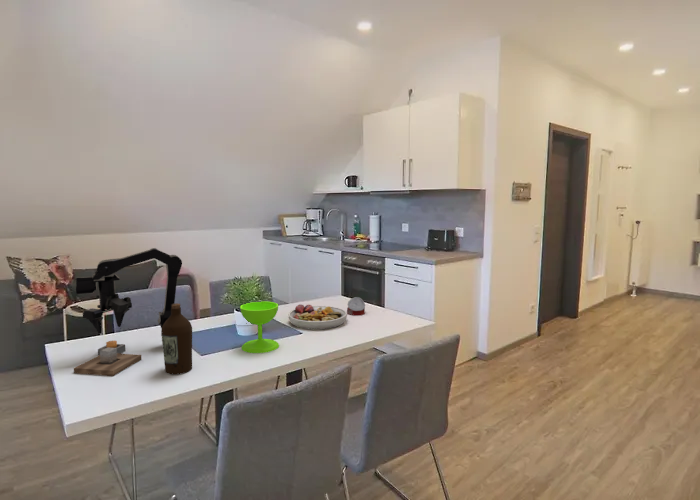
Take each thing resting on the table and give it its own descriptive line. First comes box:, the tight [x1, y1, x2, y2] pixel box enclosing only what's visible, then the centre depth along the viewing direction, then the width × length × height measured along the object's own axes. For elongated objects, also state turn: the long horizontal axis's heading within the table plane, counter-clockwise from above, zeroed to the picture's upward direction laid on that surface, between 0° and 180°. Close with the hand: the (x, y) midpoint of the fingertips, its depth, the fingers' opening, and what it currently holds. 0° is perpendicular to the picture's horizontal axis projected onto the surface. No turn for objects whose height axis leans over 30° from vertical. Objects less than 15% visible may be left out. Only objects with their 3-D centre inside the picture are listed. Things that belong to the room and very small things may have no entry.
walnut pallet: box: [73, 353, 142, 377], centre depth 164 cm, size 16×16×2 cm
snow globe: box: [346, 296, 366, 317], centre depth 239 cm, size 11×10×10 cm
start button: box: [105, 340, 118, 348], centre depth 176 cm, size 4×4×3 cm
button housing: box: [97, 343, 127, 356], centre depth 177 cm, size 7×7×3 cm
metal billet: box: [100, 347, 117, 365], centre depth 163 cm, size 4×4×6 cm
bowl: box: [288, 303, 348, 330], centre depth 222 cm, size 30×30×8 cm
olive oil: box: [160, 303, 193, 376], centre depth 159 cm, size 11×11×25 cm
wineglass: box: [239, 300, 280, 354], centre depth 184 cm, size 16×16×18 cm
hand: (109, 330), depth 173 cm, fingers open, 9 cm apart
